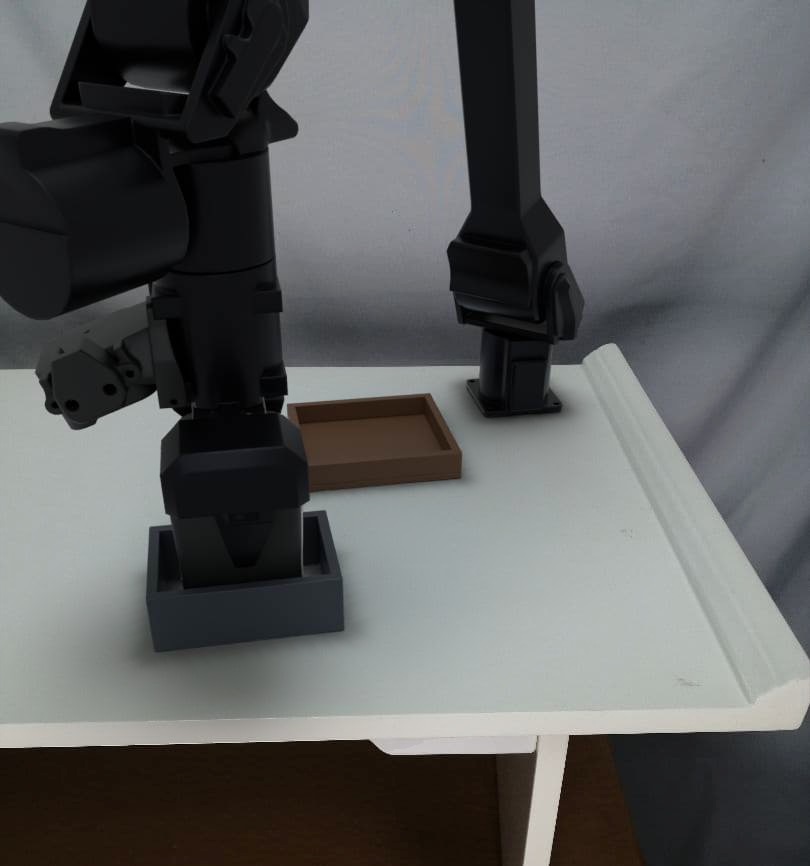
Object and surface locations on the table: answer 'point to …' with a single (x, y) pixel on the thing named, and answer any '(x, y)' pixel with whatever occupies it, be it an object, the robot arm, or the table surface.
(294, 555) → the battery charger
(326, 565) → the dock
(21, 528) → the table surface
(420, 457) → the tray
